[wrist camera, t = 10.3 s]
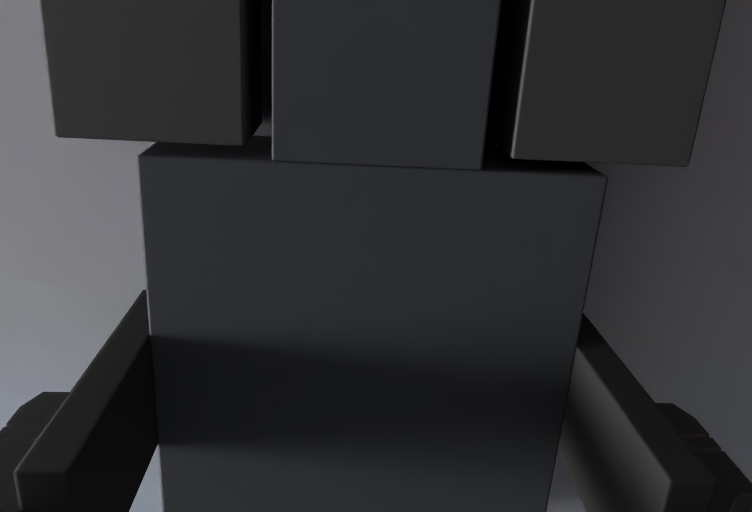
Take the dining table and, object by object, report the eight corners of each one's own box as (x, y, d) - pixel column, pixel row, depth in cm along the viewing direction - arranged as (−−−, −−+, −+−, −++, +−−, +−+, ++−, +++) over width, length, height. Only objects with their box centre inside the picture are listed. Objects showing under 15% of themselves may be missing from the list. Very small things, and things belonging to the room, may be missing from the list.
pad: (596, -30, 14) (649, -38, 11) (511, 500, 18) (536, 571, 16) (158, -59, 13) (118, -74, 11) (189, 496, 18) (166, 569, 16)
